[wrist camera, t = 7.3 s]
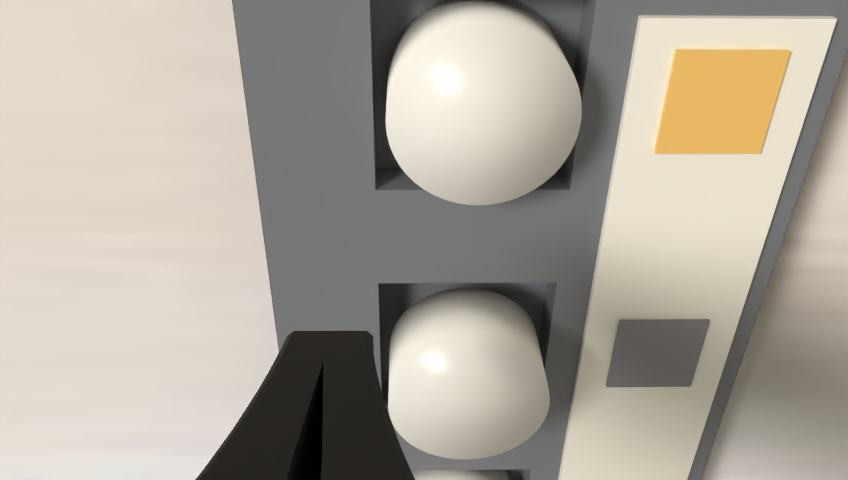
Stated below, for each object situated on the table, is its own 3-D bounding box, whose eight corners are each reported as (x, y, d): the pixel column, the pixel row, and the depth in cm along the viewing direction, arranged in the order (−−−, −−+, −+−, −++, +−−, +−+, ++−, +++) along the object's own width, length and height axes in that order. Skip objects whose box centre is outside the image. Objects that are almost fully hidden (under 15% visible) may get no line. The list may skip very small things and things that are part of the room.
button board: (653, 530, 31) (670, 583, 29) (314, 535, 30) (308, 589, 28) (844, -97, 17) (899, -76, 15) (238, -102, 17) (217, -81, 15)
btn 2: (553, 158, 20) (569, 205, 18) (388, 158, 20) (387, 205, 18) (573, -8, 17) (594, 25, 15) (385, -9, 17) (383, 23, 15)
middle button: (529, 397, 23) (541, 458, 21) (390, 399, 23) (389, 460, 21) (543, 287, 21) (558, 344, 19) (388, 288, 21) (386, 346, 19)
